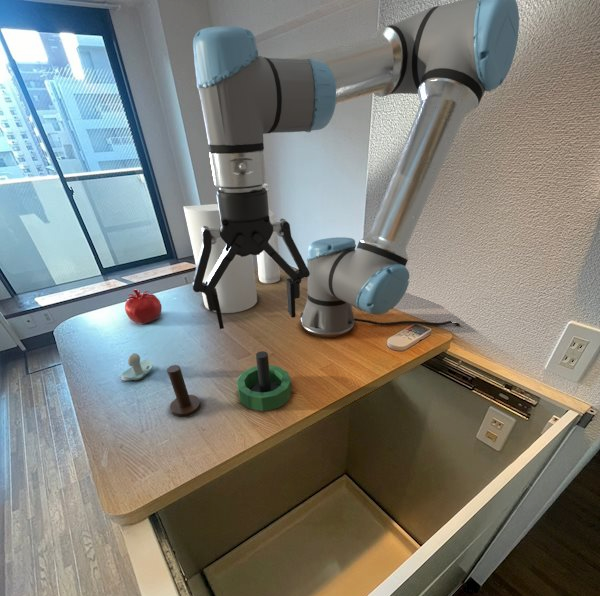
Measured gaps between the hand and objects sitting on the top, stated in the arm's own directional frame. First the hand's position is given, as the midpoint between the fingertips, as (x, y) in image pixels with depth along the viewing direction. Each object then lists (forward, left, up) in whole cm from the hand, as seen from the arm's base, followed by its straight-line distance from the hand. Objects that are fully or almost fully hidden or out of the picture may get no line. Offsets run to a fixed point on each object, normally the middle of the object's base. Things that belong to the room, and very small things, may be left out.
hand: (257, 319), depth 62 cm
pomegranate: (+28, -43, -17) cm, 54 cm away
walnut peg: (+17, +2, -17) cm, 24 cm away
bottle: (-14, -63, -17) cm, 67 cm away
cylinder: (+2, -48, -17) cm, 51 cm away
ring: (0, +2, -17) cm, 17 cm away
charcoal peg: (0, +2, -17) cm, 17 cm away
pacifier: (+28, -13, -17) cm, 35 cm away
